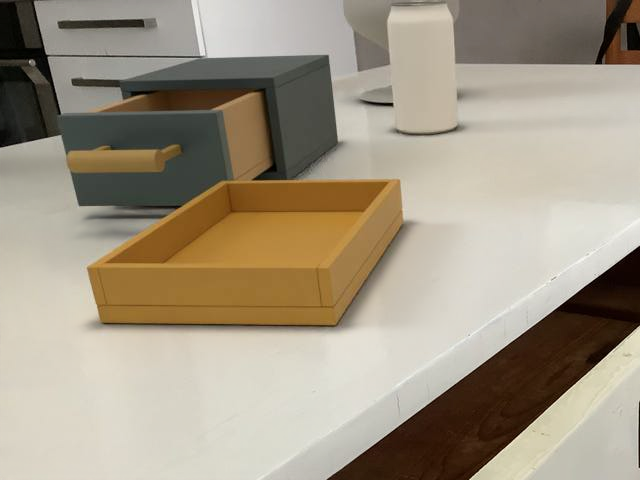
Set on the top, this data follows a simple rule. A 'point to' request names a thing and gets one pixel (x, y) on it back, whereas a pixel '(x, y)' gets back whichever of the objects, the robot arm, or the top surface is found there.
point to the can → (422, 67)
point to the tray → (252, 255)
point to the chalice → (379, 31)
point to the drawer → (167, 146)
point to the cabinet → (282, 98)
